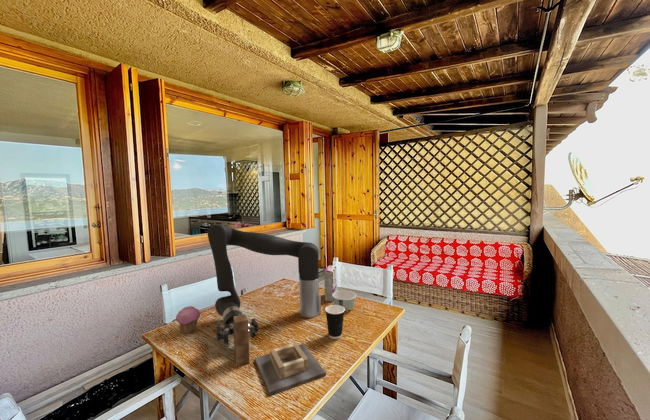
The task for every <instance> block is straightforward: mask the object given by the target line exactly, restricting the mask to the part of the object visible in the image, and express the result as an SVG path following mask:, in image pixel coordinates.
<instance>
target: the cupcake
mask: <svg viewBox="0 0 650 420" xmlns="http://www.w3.org/2000/svg"><path fill="white" fill-rule="evenodd" d="M200 317H201V312H200V310H199V309H198V308H196V307H195V306H193V305H188V306H186V307H185V306H184V307H183V308H182V309H180V310H179V311H178V312H177V314H176V316H175V321H176V322H177V323H178V324H179V328H180V332H181V333H184V334H189V333H191V332H193V331H196V329H197V325H198V321H199V318H200Z"/></svg>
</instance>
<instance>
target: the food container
mask: <svg viewBox="0 0 650 420" xmlns="http://www.w3.org/2000/svg"><path fill="white" fill-rule="evenodd" d="M332 296H333V299H334V302H333V305H339V306H342V307H344V308H345V311H346V312H349V311H348V310H351V309H353V310H354V307H355V302H356V301H355V300H356V297H357V294H356V293H355V292H353V291H351V290H337V291H336V292H334V293H333V294H332ZM351 311H352V310H351Z"/></svg>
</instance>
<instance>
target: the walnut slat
mask: <svg viewBox="0 0 650 420" xmlns="http://www.w3.org/2000/svg"><path fill="white" fill-rule="evenodd" d="M242 314H243V313H242ZM233 322H234V334H233V343H234V345H233V347H234V348H233V349H234V351H233V352H234V361H235V365H236V367H237V368H238V367H240V366H241V367H242V366H245V365H249V364H250V342H249V341H250V337H249V335H250V333H249V331H248V322H249V319H248V317H247V315H246V314H245V313H244V314H243V315H238V316H234V317H233Z"/></svg>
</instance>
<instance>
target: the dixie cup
mask: <svg viewBox="0 0 650 420" xmlns="http://www.w3.org/2000/svg"><path fill="white" fill-rule="evenodd" d="M324 311H325V315H326V322H327V324H326V325H327V331H328V335H329V338H330V339H332V340H338V339H340V338H341V337H342V335H343V325H344V318H345V312H344V311H345V308H344V307H342V306H339V305H334V304H330V305H327V306H326V307H325V308H324Z"/></svg>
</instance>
